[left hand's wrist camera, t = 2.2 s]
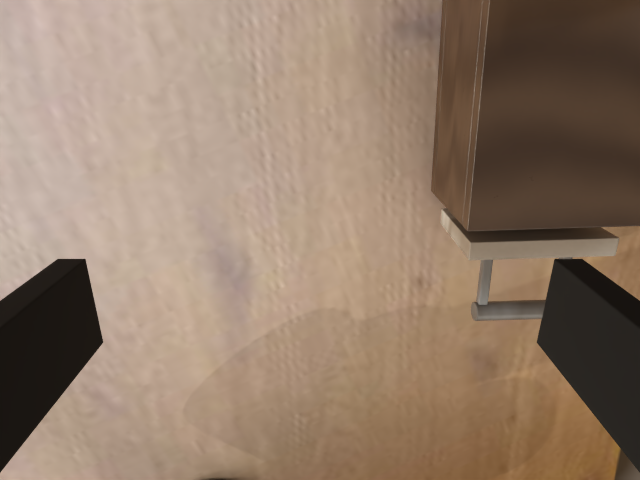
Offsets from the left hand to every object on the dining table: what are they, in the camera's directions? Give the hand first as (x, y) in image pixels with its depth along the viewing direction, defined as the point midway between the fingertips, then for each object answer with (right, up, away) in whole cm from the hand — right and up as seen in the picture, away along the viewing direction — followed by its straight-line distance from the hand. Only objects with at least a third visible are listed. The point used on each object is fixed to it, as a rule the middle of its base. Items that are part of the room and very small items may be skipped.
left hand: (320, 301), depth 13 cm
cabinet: (+13, +14, +18) cm, 26 cm away
